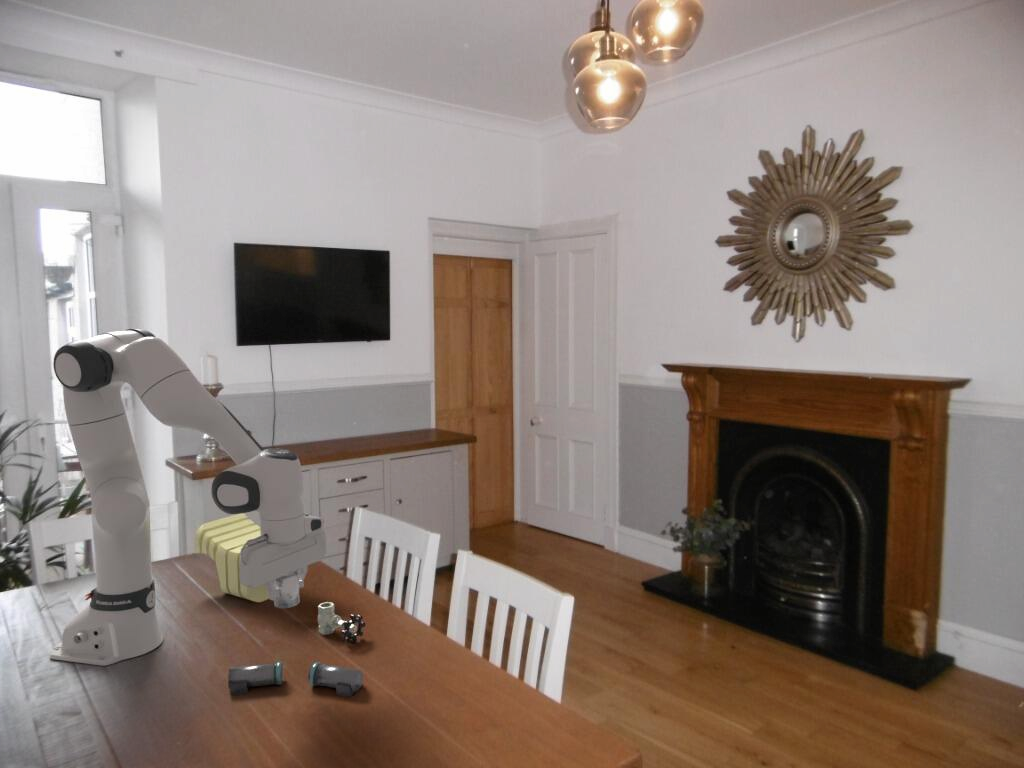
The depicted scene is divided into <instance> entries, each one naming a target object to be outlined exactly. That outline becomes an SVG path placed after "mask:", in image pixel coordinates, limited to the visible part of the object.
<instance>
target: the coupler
mask: <svg viewBox="0 0 1024 768" xmlns="http://www.w3.org/2000/svg"><path fill="white" fill-rule="evenodd" d="M273 586H274V588H275V589H278V590H280V594H279V595H280V598H278V599H276V600H274V601H273V602H274V603H273V604H274V607H275V608H278V609H288V608H293V607H296V606H297V605H299V603H300V589H299V579H298V572H297V570H296V571H293V572H291V573H289V574H286V575H284V576H282V577H279V578H277V579H275V584H274V585H273Z"/></svg>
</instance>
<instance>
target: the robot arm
mask: <svg viewBox="0 0 1024 768" xmlns="http://www.w3.org/2000/svg"><path fill="white" fill-rule="evenodd" d="M53 370H54V374H55V376H56V378H57V380H58V381H59V383H60V384H61V385H62V394H63V395H62V396H63V403H64V404H63V405H64V410H65V414H66V415H65V416H66V419H67V424H68V427H69V432H70V434H71V439H72V441H73V445H74V448H75V451H76V452H75V453H76V455H77V456H76V457H77V459H78V462H79V465H80V468H81V469H82V473H83V476H84V479H85V482H86V485H87V488H88V491H89V494H90V499H91V523H92V536H93V538H92V539H93V550H94V564H95V578H96V580H95V581H96V583H95V584H96V587H94V589H91V590H90V592H89V593H87V594H86V595H84V598H85V599H84V600H85V601H88V600H89V599H91V600H90V602H89V604H88V605H87V606H86V607H85V608H84V609H83V610H81V611H80V612H79V613H77V615H75V616H74V617H72V619H70V620H69V621H68V623H67V624H66V625H65V626H64V629H63V632H62V635H61V636H62V638H61V641H59V642H58V643H57V644H56V645H55V646H53V648H52V649H51V651H50V654H49V659H51V660H57V661H65V662H71V663H79V664H80V663H81V664H87V665H95V666H100V667H102V666H103V667H104V666H110V665H113V664H116V663H118V662H121V661H124V660H128V659H132V658H135V657H139V656H142V655H145V654H147V653H149V652H151V651H154V650H155V649H156V648H157V647H159V646H160V645H161V644H162V643H163V642H164V636H163V634H162V631H161V629H160V626H159V625H160V624H159V621H158V617H157V613H156V612H157V611H156V586H155V584H156V583H155V580H154V579H153V568H152V552H151V551H152V550H151V547H152V545H151V541H152V540H151V510H150V507H151V506H150V500H149V496H148V492H147V488H146V484H145V479H144V476H143V472H142V469H141V466H140V462H139V458H138V454H137V450H136V446H135V443H134V439H133V435H132V431H131V427H130V424H129V420H128V416H127V414H126V413H127V412H126V409H125V406H124V402H123V400H122V395H121V391H122V387H123V386H124V384H126V383H127V384H128V385H130V386H131V388H132V389H133V391H134V392H135V394H136V395H137V396H138V398H139V399H140V401H141V402H142V404H143V405H144V407H145V408H146V409H147V411H148V412H149V413H150V414H151V415H152V416H153V417H154V418H155V419H156V420H157V421H158V422H160V423H161V424H162V425H164V426H167V427H171V428H174V429H175V428H176V429H185V430H190V431H195V432H199V433H203V434H205V435H207V436H209V437H210V438H212V439H214V440H215V441H216V443H218V445H219V446H220V447H221V448H222V450H224V452H225V453H226V454H227V455H228V456H229V457H230V459H232V461H233V462H234V463H235V464H236V465H233V466H230V467H228V468H226V469H224V470H222V471H221V472H219V473H218V474H217V475H215V477H214V478H213V481H212V482H211V488H210V489H211V491H210V492H211V493H210V494H211V496H212V499H213V502H214V504H215V505H216V507H217V508H218V509H219V510H220V511H222V512H224V513H225V514H229V515H236V514H241V513H244V514H246V513H251V512H257V513H258V515H259V527H260V534H261V536H259V537H257V538H255V539H251V540H248V541H247V542H246V544H245V545H244V546H243V547H242V549H241V559H240V574H239V578H240V583H241V584H242V585H243V586H246V587H249V588H256V587H258V586H260V585H264V587H265V588H266V589H267V591H268V596H269V599H268V600H270V601H273V602H274V600H276V599H278V598H280V595H279V594H280V590H278V589H275V588H274V586H273V585H274V584H275V579H277V578H279V577H282V576H284V575H286V574H289V573H291V572H293V571H296V572H298V579H299V590H300V589H302V588H304V587H305V578H306V576H307V573H308V569H309V567H308V566H310V565H312V564H315V563H317V562H319V561H321V560H324V559H325V557H326V555H327V552H328V546H327V543H328V542H327V534H326V531H325V529H324V527H325V519H324V518H323V517H319V516H315V515H309V514H306V511H305V510H306V509H305V507H304V505H303V496H304V479H303V471H302V467H301V466H302V465H301V461H300V459H299V457H298V455H297V454H296V453H295V452H293V451H291V450H290V449H289V450H288V449H285V448H267V449H265V448H264V447H263V446H262V445H260V443H259V442H258V441H257V440H256V439H255V438H254V436H253V435H252V434H251V433H250V432H249V431H248V430H247V428H246V427H245V426H244V425H243V423H241V422H240V421H239V420H238V419H237V417H235V415H234V414H233V413H232V412H231V410H229V409H228V407H226V406H225V405H224V404H223V403H222V402H220V401H219V399H217V398H216V397H215V396H213V395H212V394H211V393H210V392H209V391H208V390H207V388H205V387H204V386H203V384H202V383H201V382H200V381H199V379H198V378H197V377H196V376H195V375H194V374H193V373H194V372H192V371H191V370H190V368H189V367H188V366H187V364H186V362H184V360H182V358H181V357H180V356H179V355H178V354H177V352H175V350H174V349H172V348H171V347H170V345H168V344H167V343H166V342H165V341H164V340H162V339H161V338H160V337H156V335H154V334H153V333H152V332H151V331H149V330H146V329H140V328H127V329H125V330H118V331H117V330H115V331H108V332H102V333H100V334H98V335H94V336H91V337H87V338H84V339H77V340H73V341H71V342H68V343H66V344H64V345H62V346H60V347H59V348H58V349H57V350H56V352H55V354H54V357H53Z"/></svg>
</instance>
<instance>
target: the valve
mask: <svg viewBox="0 0 1024 768" xmlns="http://www.w3.org/2000/svg"><path fill="white" fill-rule="evenodd" d="M349 618H350V620H342V617H341V616H340V615H338V614H336V613H335V603H333V602H331V601H330V602H329V601H326V602H322V603H320V604H319V605H318V606H317V623H318V633H319V634H321V635H324V636H325V635H331V634H333V633H334V632H335V631H336V629H338V628H340V629H341V632H340V634H341V636H344V637H345V638H343V641H344V643H346V644H347V643H350V642H351V643H352V644H355V643H357V641H358V639H357V637H360V638H361V637H363V635H364V632H363V631H362V629H363V628H365V627H366V622H364V621H362V620H363V618H364V617H363V615H361V614H357V615H356V614H350V616H349ZM355 624H357V625H358V626H357V625H355ZM352 633H354V634H352Z"/></svg>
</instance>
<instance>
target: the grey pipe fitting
mask: <svg viewBox="0 0 1024 768" xmlns="http://www.w3.org/2000/svg"><path fill="white" fill-rule="evenodd" d="M283 671H284V667H283V661H276V662H275V663H274V662H273V663H265V664H264V663H263V664H262V663H261V664H255V665H245V666H234V667H229V669H228V674H227V675H228V677H227V685H228V686H227V687H228V690H230V695H231V696H234V695H242V694H244V695H245V694H248V690H249V688H251V687H261V686H269V685H270V686H271V685H276V686H278V685H283V679H284V677H283V673H284V672H283Z"/></svg>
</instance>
